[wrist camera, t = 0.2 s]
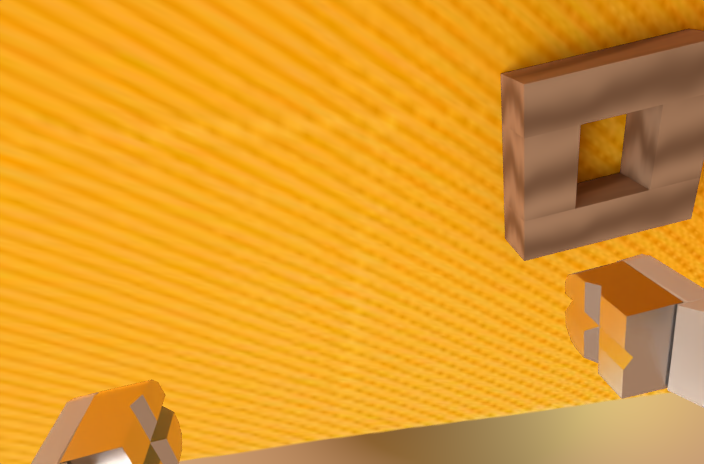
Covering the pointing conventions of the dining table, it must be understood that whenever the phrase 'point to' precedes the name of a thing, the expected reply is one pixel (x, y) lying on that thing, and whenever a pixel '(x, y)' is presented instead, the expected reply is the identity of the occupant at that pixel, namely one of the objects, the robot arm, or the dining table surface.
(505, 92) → the socket block
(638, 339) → the robot arm
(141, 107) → the dining table surface
